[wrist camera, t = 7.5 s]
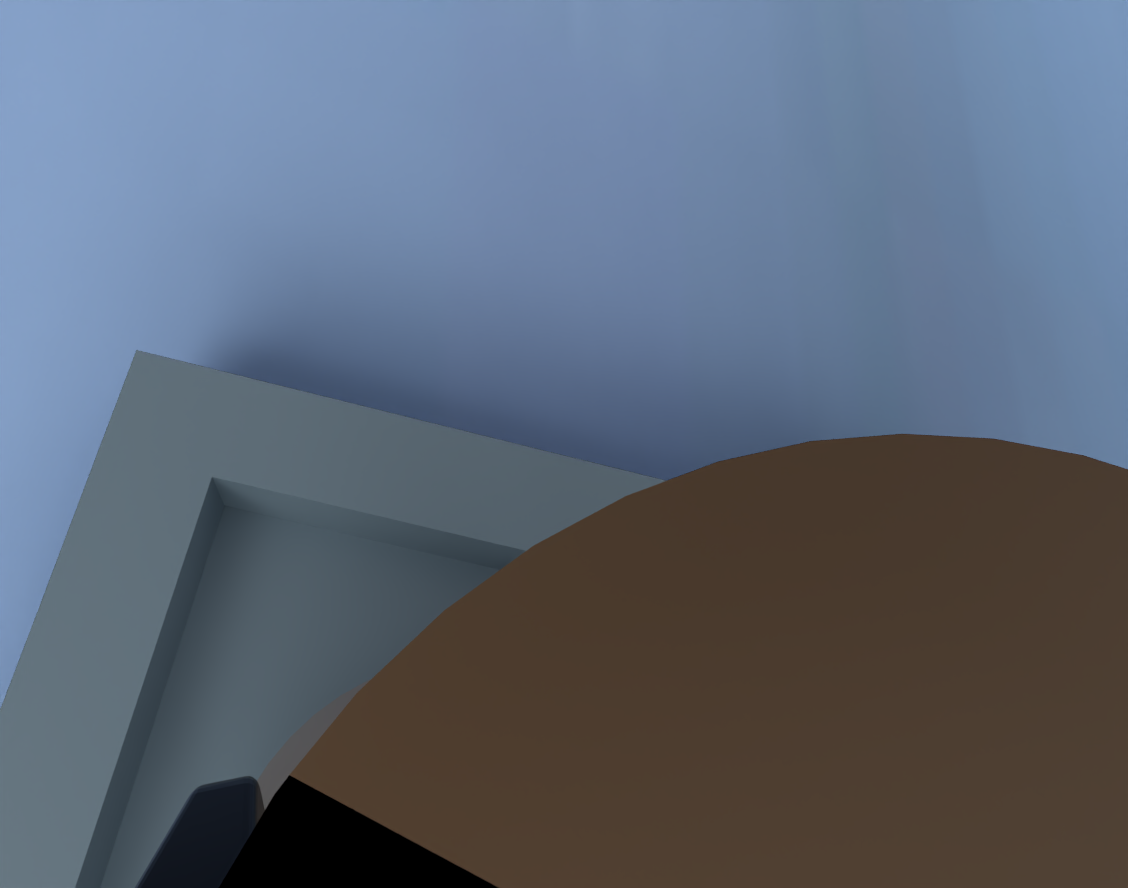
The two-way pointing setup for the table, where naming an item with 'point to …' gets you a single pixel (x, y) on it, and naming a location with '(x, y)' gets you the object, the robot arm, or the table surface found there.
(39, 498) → the table surface
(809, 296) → the table surface
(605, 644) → the wooden post on disc
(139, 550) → the tray
